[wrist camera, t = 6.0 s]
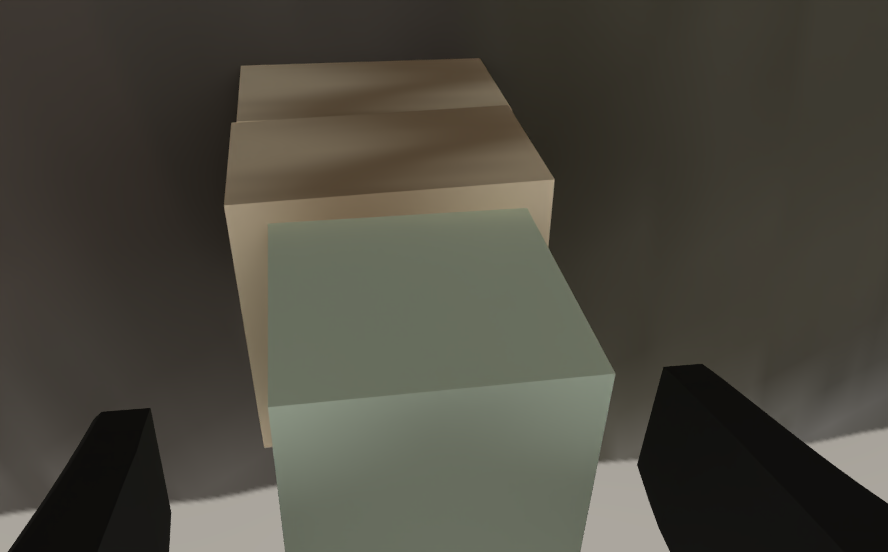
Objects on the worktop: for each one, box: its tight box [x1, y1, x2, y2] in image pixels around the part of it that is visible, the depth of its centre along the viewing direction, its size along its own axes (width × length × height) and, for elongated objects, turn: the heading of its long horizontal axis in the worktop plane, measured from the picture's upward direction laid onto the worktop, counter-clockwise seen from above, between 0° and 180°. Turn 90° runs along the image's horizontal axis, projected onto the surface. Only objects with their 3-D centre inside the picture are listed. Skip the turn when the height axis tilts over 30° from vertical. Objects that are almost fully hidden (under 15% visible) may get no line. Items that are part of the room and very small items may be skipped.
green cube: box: [268, 208, 615, 552], centre depth 12 cm, size 4×4×4 cm
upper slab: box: [224, 105, 555, 448], centre depth 15 cm, size 5×5×3 cm
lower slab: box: [237, 58, 512, 122], centre depth 17 cm, size 5×5×3 cm
